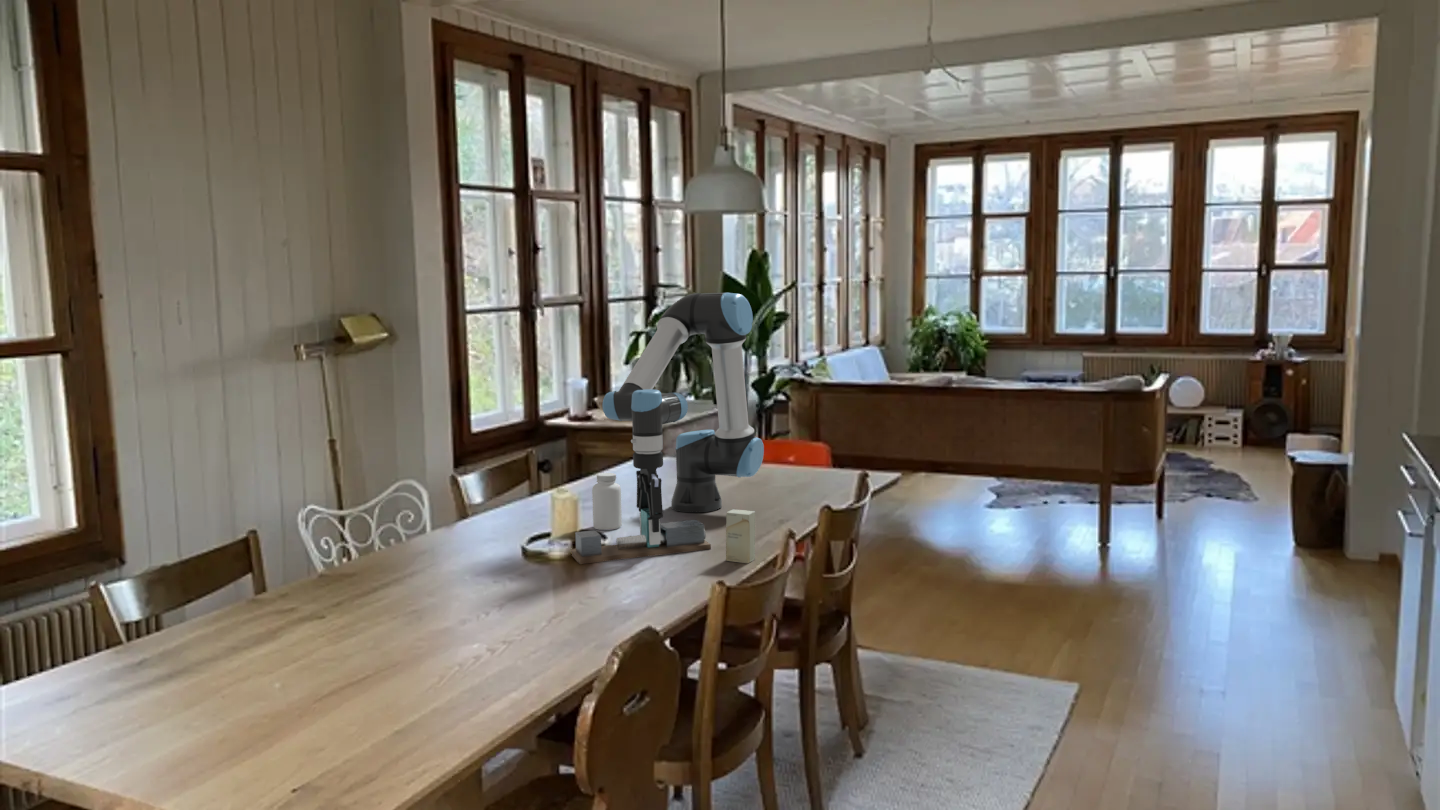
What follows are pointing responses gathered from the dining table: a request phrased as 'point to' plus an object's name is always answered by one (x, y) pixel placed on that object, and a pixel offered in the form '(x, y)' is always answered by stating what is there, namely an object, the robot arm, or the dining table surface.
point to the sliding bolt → (644, 538)
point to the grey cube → (588, 543)
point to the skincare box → (740, 536)
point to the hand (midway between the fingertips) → (650, 540)
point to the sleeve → (683, 532)
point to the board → (636, 552)
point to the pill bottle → (606, 502)
